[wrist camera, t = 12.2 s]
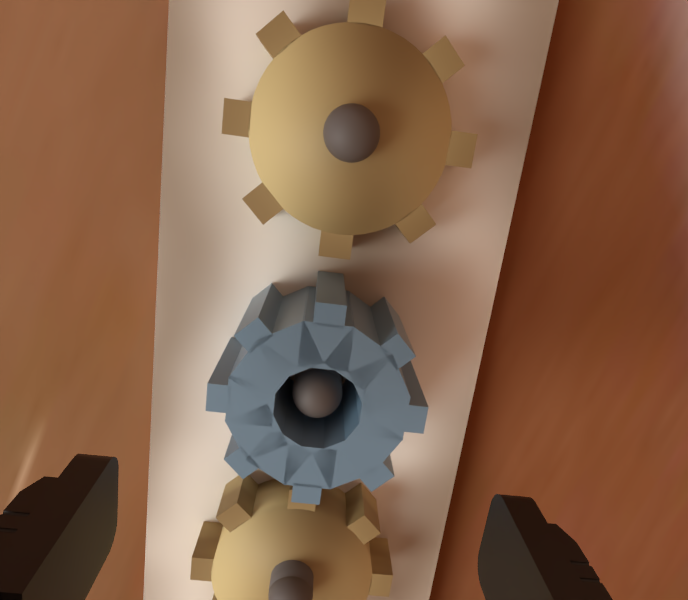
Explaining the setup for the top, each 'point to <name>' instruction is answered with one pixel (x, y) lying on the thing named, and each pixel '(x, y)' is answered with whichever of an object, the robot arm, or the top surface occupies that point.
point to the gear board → (328, 264)
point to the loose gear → (323, 353)
